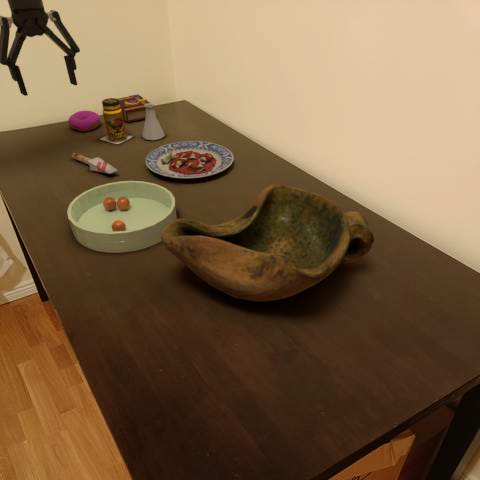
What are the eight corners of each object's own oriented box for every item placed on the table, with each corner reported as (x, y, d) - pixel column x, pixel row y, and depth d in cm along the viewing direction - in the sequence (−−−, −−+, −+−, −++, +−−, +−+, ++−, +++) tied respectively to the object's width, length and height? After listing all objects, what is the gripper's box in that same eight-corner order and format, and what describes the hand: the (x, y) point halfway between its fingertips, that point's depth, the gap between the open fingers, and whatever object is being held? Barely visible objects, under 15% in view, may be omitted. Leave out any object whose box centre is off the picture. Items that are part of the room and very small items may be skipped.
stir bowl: (79, 262, 92) (73, 243, 88) (68, 209, 108) (62, 190, 105) (189, 239, 98) (187, 220, 95) (163, 192, 115) (160, 174, 111)
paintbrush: (107, 169, 118) (67, 153, 128) (109, 178, 120) (70, 162, 130) (118, 164, 120) (78, 149, 130) (120, 174, 122) (81, 158, 132)
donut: (65, 128, 149) (61, 114, 146) (89, 120, 155) (85, 106, 152) (83, 135, 144) (80, 121, 141) (107, 126, 150) (104, 112, 147)
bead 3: (117, 223, 100) (123, 236, 100) (106, 224, 97) (112, 237, 97) (125, 217, 98) (131, 229, 98) (114, 218, 95) (120, 230, 95)
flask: (154, 131, 147) (150, 99, 140) (169, 136, 144) (165, 104, 137) (138, 137, 143) (133, 105, 136) (152, 142, 140) (148, 110, 133)
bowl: (215, 361, 71) (220, 291, 61) (153, 264, 89) (148, 197, 79) (388, 300, 87) (415, 236, 77) (305, 228, 105) (318, 169, 94)
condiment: (118, 144, 138) (110, 105, 130) (98, 139, 141) (90, 100, 133) (133, 137, 143) (126, 98, 135) (113, 132, 146) (106, 94, 138)
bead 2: (114, 206, 107) (118, 193, 106) (127, 210, 108) (131, 198, 107) (115, 208, 104) (119, 195, 103) (128, 212, 105) (132, 200, 105)
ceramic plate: (248, 157, 131) (248, 147, 129) (205, 192, 115) (204, 182, 113) (178, 142, 140) (177, 133, 138) (128, 173, 123) (126, 163, 121)
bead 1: (111, 193, 104) (99, 196, 105) (112, 206, 103) (101, 209, 104) (118, 198, 107) (107, 201, 108) (119, 210, 107) (108, 213, 107)
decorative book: (127, 124, 152) (124, 109, 148) (111, 111, 162) (108, 97, 158) (156, 118, 156) (154, 103, 153) (139, 106, 166) (137, 91, 163)
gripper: (-31, -6, 90) (7, 102, 105) (79, -15, 102) (99, 83, 117) (-42, -9, 94) (-4, 95, 109) (65, -18, 106) (86, 77, 121)
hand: (50, 89), depth 113 cm, fingers open, 13 cm apart
